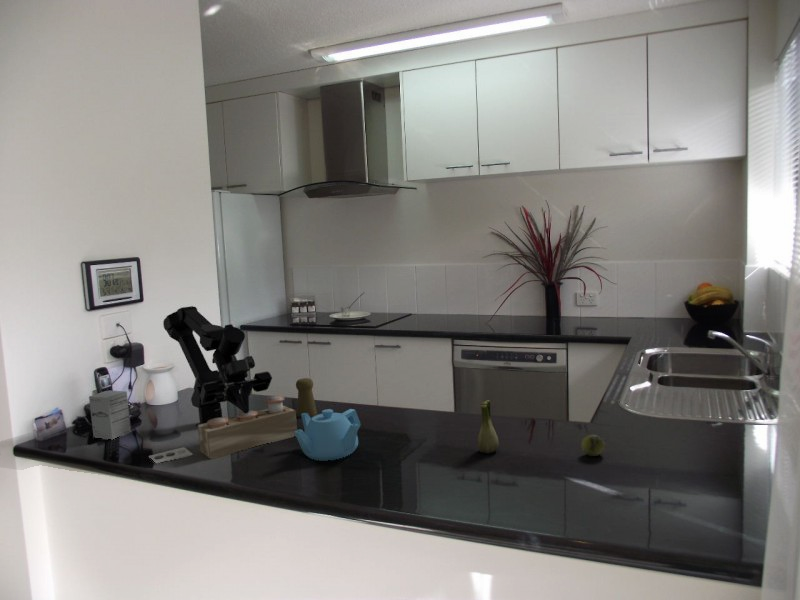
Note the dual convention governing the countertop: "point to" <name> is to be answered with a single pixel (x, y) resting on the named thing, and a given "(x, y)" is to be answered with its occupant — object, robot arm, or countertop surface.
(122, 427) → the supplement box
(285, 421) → the button box
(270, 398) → the button
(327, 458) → the teapot
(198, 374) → the robot arm
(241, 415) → the middle button
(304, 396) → the cork
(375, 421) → the countertop surface
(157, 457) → the pattern card
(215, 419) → the button
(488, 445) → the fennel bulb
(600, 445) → the lime
